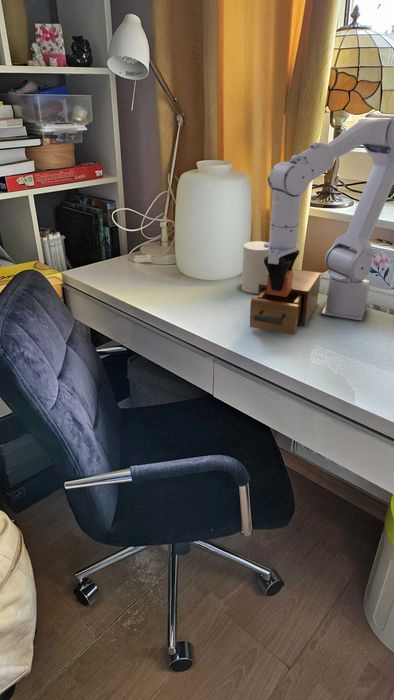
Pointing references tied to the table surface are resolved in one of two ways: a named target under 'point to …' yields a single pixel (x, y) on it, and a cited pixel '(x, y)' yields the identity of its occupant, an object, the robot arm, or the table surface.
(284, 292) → the block
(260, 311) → the drawer
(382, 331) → the table surface
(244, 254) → the cream upright cylinder
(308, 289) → the cabinet
